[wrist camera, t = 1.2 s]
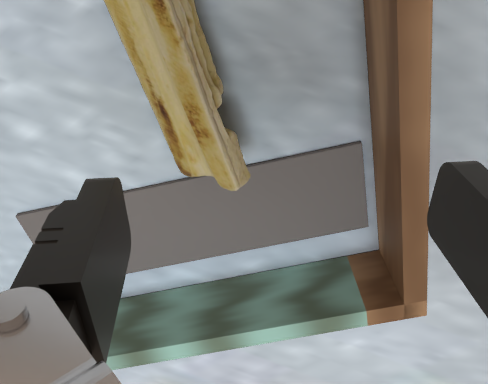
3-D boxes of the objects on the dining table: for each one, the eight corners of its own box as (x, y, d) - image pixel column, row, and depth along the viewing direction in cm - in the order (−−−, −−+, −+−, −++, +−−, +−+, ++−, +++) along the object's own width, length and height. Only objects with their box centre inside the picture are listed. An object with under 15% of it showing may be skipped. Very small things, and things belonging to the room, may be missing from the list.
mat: (360, 141, 28) (361, 143, 28) (367, 224, 32) (368, 226, 32) (17, 213, 30) (15, 216, 30) (61, 283, 34) (60, 286, 34)
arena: (390, -26, 23) (432, -10, 18) (399, 260, 34) (426, 315, 29) (-29, 76, 25) (-87, 114, 20) (109, 314, 36) (93, 373, 32)
